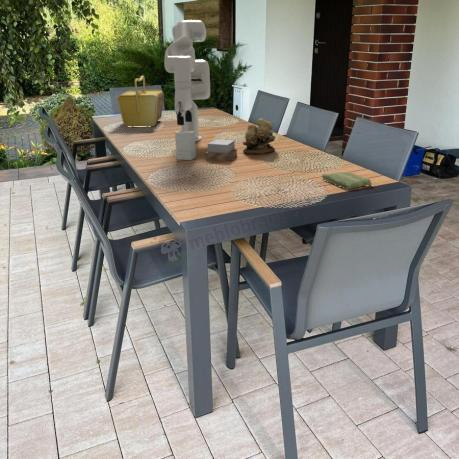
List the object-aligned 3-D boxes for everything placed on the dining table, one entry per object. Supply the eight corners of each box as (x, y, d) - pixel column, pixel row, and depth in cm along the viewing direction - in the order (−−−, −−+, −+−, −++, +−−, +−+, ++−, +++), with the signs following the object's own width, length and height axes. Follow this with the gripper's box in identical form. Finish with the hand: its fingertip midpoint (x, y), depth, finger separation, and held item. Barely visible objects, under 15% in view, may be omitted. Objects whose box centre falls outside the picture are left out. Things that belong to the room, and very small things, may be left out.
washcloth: (344, 175, 200) (345, 168, 199) (373, 187, 186) (374, 179, 184) (319, 180, 195) (319, 172, 194) (346, 192, 180) (347, 183, 179)
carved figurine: (268, 147, 249) (269, 114, 242) (281, 152, 239) (282, 118, 232) (238, 151, 241) (238, 117, 235) (249, 156, 232) (250, 121, 225)
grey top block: (208, 151, 226) (207, 143, 225) (215, 147, 235) (215, 139, 234) (227, 153, 223) (227, 144, 222) (234, 148, 232) (234, 140, 230)
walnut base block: (205, 160, 227) (205, 152, 225) (213, 154, 237) (213, 146, 236) (229, 162, 223) (229, 154, 222) (236, 156, 234) (236, 148, 232)
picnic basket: (159, 128, 302) (156, 78, 290) (119, 128, 303) (114, 79, 291) (165, 120, 329) (162, 74, 317) (128, 120, 330) (124, 75, 318)
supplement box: (196, 157, 232) (195, 131, 227) (190, 160, 225) (189, 134, 220) (182, 155, 234) (181, 130, 229) (176, 159, 228) (174, 133, 223)
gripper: (182, 83, 225) (184, 120, 231) (167, 87, 210) (169, 126, 216) (197, 84, 223) (198, 120, 229) (183, 87, 208) (185, 126, 214)
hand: (184, 123), depth 223 cm, fingers open, 9 cm apart
